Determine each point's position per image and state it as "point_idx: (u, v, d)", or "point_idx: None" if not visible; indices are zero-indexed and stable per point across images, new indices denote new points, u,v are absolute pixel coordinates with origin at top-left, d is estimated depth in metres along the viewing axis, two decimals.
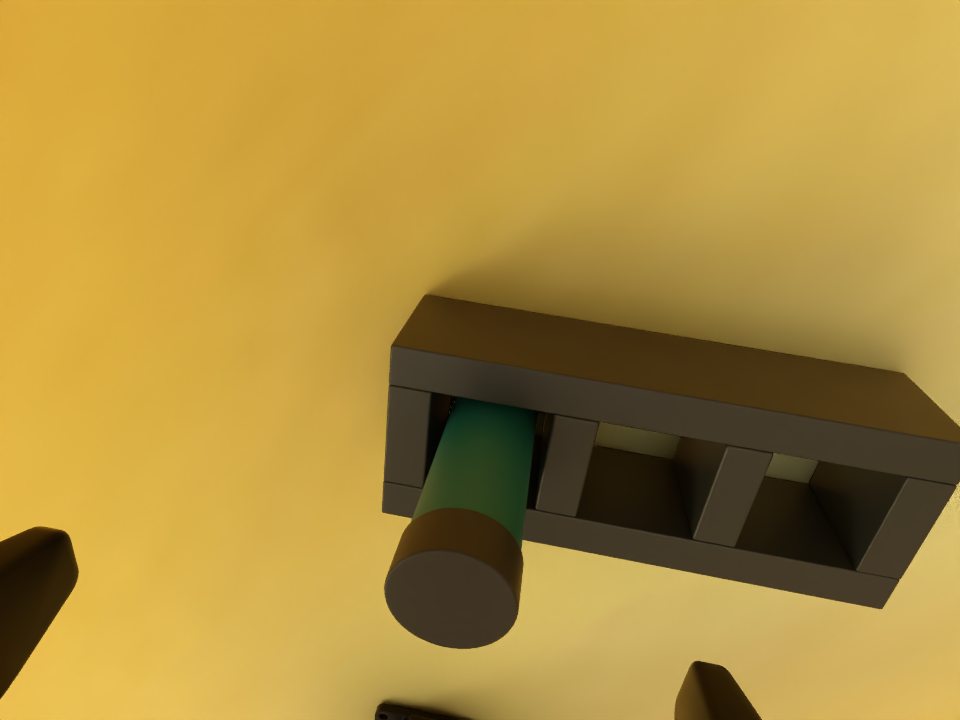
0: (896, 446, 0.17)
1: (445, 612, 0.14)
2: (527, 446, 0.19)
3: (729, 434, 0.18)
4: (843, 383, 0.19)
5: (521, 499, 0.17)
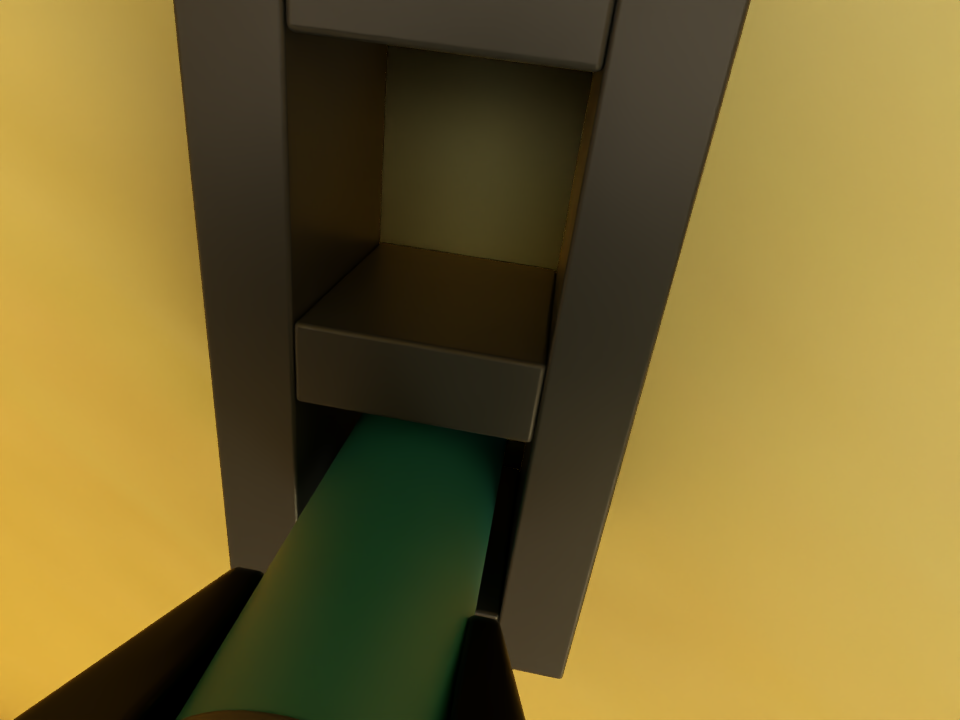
0: None
1: None
2: (354, 458, 0.09)
3: (252, 31, 0.07)
4: None
5: (291, 576, 0.07)
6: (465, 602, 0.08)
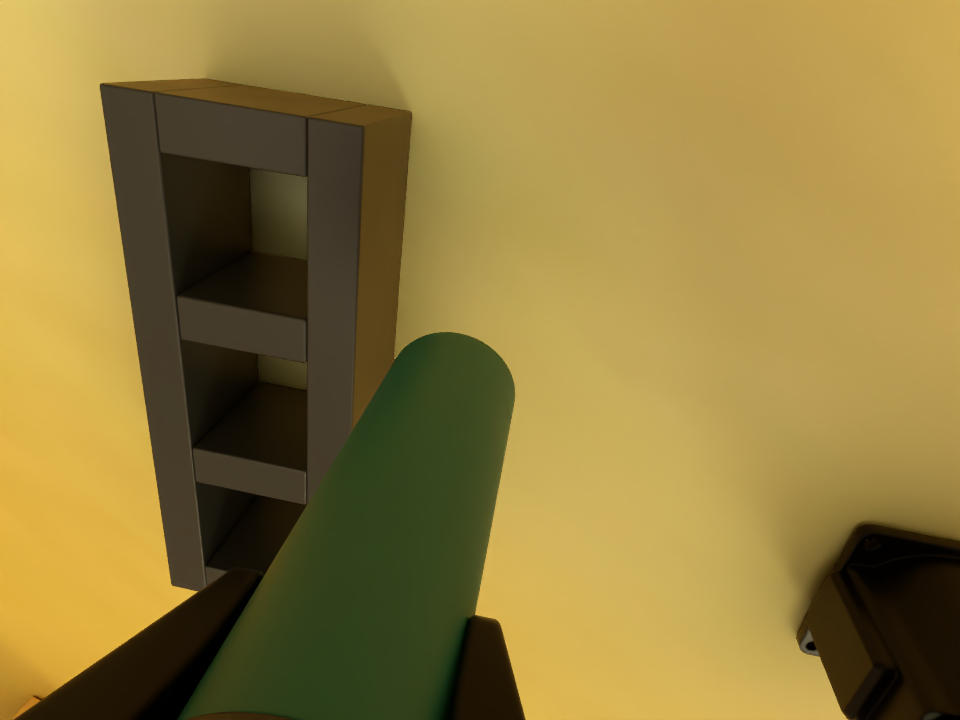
0: (127, 176, 0.15)
1: None
2: (354, 459, 0.09)
3: (167, 339, 0.17)
4: None
5: (291, 578, 0.07)
6: (465, 604, 0.08)
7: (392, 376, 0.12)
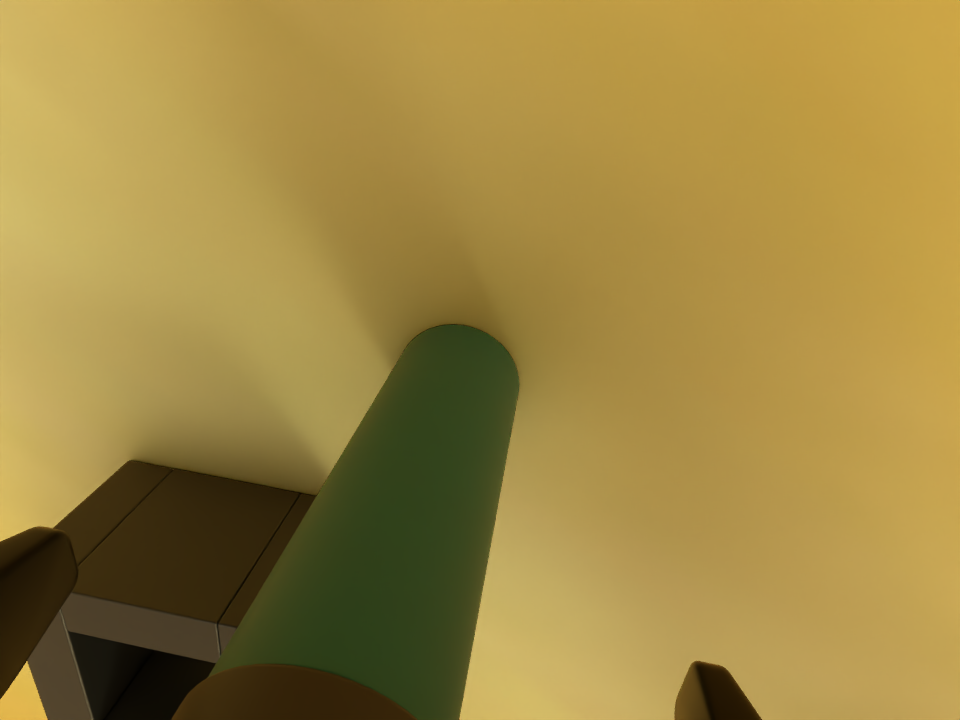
0: None
1: None
2: (367, 442, 0.10)
3: None
4: None
5: (312, 548, 0.08)
6: (475, 576, 0.09)
7: (401, 366, 0.13)
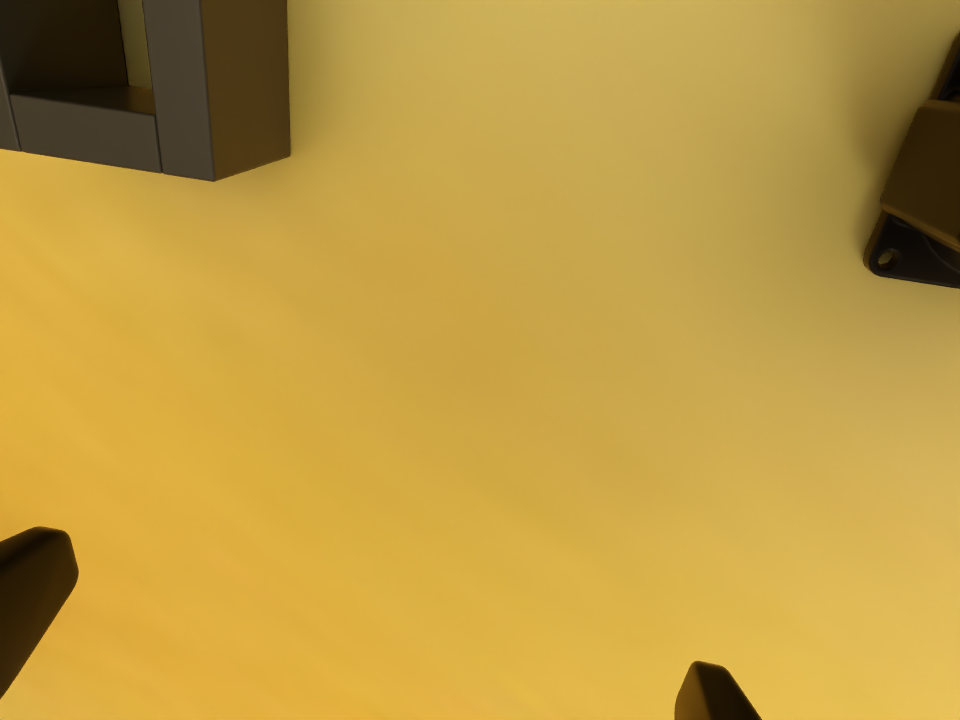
0: None
1: None
2: None
3: None
4: None
5: None
6: None
7: None
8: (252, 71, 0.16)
